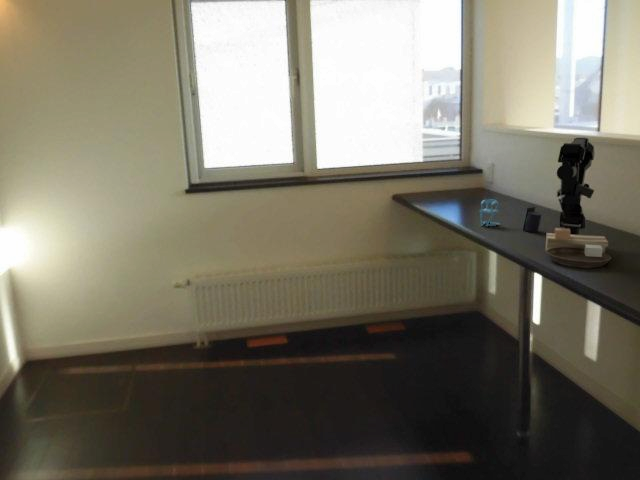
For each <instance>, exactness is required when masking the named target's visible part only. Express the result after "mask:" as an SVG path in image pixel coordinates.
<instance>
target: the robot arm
mask: <svg viewBox="0 0 640 480" xmlns="http://www.w3.org/2000/svg"><path fill="white" fill-rule="evenodd" d="M589 141H590V140H589V138H587V137H574V139H573V141H572V142H570V143H569V142H564V143H563V144H562V146H560V150H559V154H558V159H557V163H561V165H560V166H559V167H558V168H557V170H556V175H557V178H558V179H559V180H560V188H559V189H558V190H557V191H556V197H558V202H559V205H560V209H561V211H560V214H559V228H567V229H570V231H571V232H570V234H573V235H580V230H584V229H586V217H585V213H584V210H583V208H582V205H581V201H582V196H585V197H586V198H588V199H592V197H593V195H594V192H595V189H593V188H591V187H590V184H588V183H586V182H585V177H586V172H587V170H588V169H590V167H592V162H593V161H594V159H595V147H594V145H593V144H592V143H591V142H589Z"/></svg>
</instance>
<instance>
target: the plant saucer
mask: <svg viewBox="0 0 640 480" xmlns="http://www.w3.org/2000/svg"><path fill="white" fill-rule="evenodd" d="M584 252H585V249H583V248H571V247H559V248H551V249H548V250H547V252H546V253H547V255H548V257H549V258H550V259H551V260H552V261H553V262H554V263H556V264H559V265H562V266H566V265H567V266H568V267H572V266H573V267H574V268H584V269H585V268H586V269H590V268H591V269H592V268H593V269H594V268H600V267H602V266H605V265H606V264H608V262H609V261H610V260H611V259H612V257H611V255H609V254H608V253H606V252H605V253H603V252H602V257H592V256H586V255H585V253H584Z"/></svg>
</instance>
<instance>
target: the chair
mask: <svg viewBox="0 0 640 480" xmlns="http://www.w3.org/2000/svg"><path fill="white" fill-rule="evenodd" d="M484 203H485V204H486V205H485V206H486V207H485V208H484V206H483V205H484ZM489 204H490V206H491V207H490V208H489ZM480 206H481V209H479V210H478V212H479V214H480V227H484V226H485V227H486V226H487V227H486V228H488V226H490V227H497V226H496V225H498V226H500V225H501V223H500V222H493V221H492V219H493V217H494V215H495V214H497V213H499V212H500V209H498V206H499V202H498V200H496V199H494V198H489V199H483V200H482V201H481V202H480ZM493 206H495V209H493V208H494V207H493ZM484 213H485V214H486V213H488V214H490V217H489V219H488V221H487V220H485V221H484ZM489 223H490V224H489ZM484 224H485V225H484ZM483 225H484V226H483Z"/></svg>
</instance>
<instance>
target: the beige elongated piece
mask: <svg viewBox="0 0 640 480" xmlns="http://www.w3.org/2000/svg"><path fill="white" fill-rule="evenodd" d="M554 233H555V232H554ZM554 233H551V232H546V236H545V238H546V239H545V252H546V253H547V250H548V249H551V248H559V247H571V248H583V249H585V244H586V245H601V247H602V248H603V250H602V252H603V253H606V247H607V248H608V247H609V241H608V240H607V238H606V237H605V236H604V235H590V234H588V235H587V234H579V235H573V234H570V239H555V236H554Z"/></svg>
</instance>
